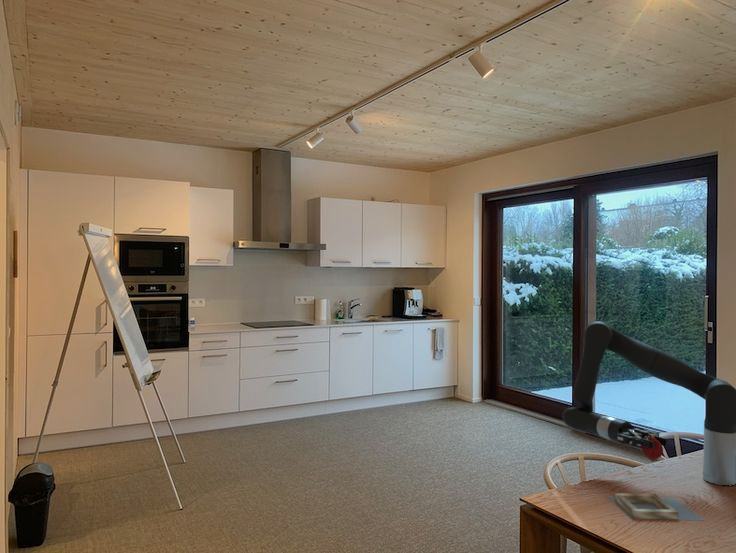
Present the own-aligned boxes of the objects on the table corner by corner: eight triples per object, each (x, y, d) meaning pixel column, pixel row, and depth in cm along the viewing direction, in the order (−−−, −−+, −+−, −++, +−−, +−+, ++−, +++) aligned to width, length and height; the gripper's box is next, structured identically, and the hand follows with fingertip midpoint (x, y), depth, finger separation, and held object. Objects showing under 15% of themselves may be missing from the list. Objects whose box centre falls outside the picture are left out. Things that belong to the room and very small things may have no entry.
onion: (665, 464, 168) (666, 439, 167) (645, 463, 169) (645, 437, 169) (659, 458, 173) (659, 433, 173) (639, 457, 174) (640, 432, 174)
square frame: (654, 500, 161) (655, 493, 161) (678, 519, 149) (678, 511, 149) (614, 499, 161) (614, 493, 161) (634, 518, 149) (634, 511, 149)
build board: (673, 502, 164) (673, 497, 164) (704, 525, 149) (704, 520, 149) (607, 501, 164) (607, 496, 164) (631, 524, 149) (631, 519, 149)
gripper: (599, 420, 181) (644, 435, 165) (629, 416, 187) (675, 429, 171) (599, 443, 181) (644, 459, 165) (629, 437, 187) (675, 452, 172)
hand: (659, 444), depth 169 cm, fingers closed on onion, 5 cm apart
